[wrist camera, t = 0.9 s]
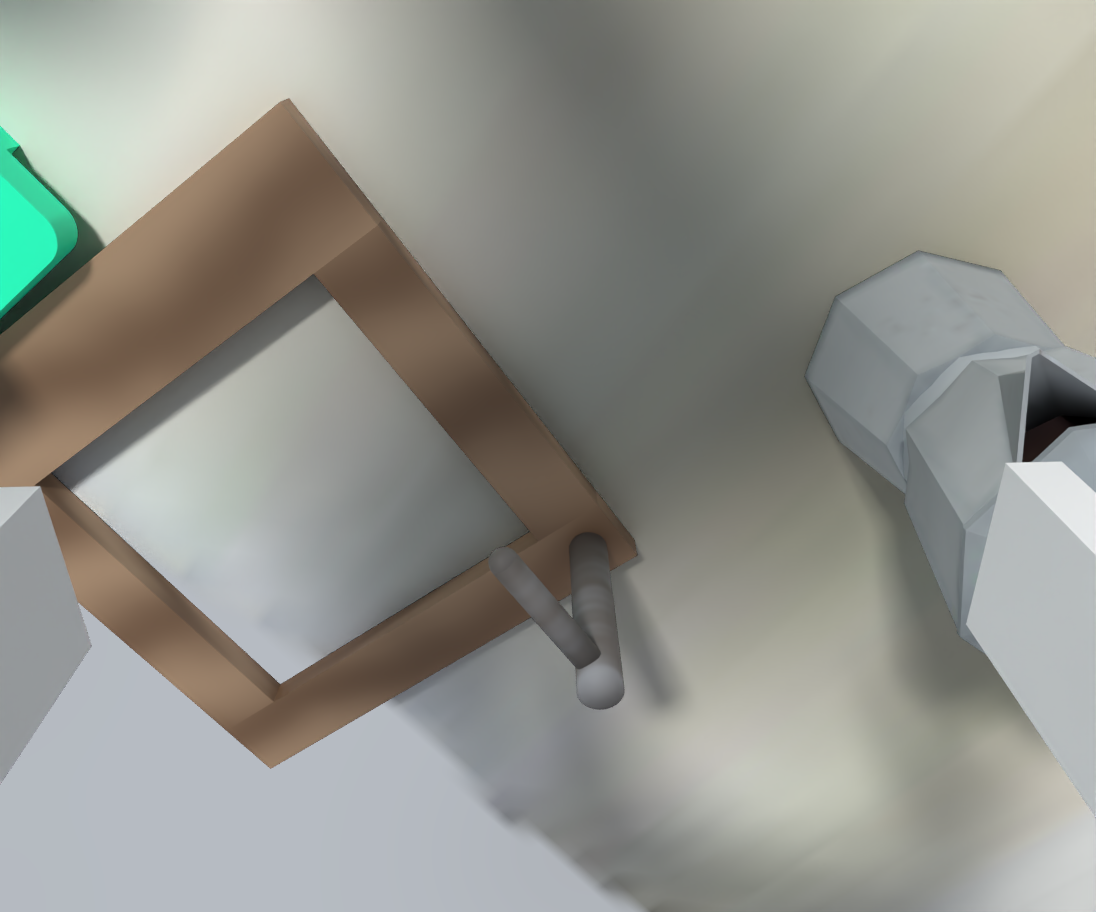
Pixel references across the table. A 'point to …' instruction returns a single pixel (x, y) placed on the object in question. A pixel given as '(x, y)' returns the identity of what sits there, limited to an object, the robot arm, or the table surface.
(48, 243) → the camera mount
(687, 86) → the table surface
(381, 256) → the open wooden square frame
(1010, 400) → the coffee maker
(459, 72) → the table surface
